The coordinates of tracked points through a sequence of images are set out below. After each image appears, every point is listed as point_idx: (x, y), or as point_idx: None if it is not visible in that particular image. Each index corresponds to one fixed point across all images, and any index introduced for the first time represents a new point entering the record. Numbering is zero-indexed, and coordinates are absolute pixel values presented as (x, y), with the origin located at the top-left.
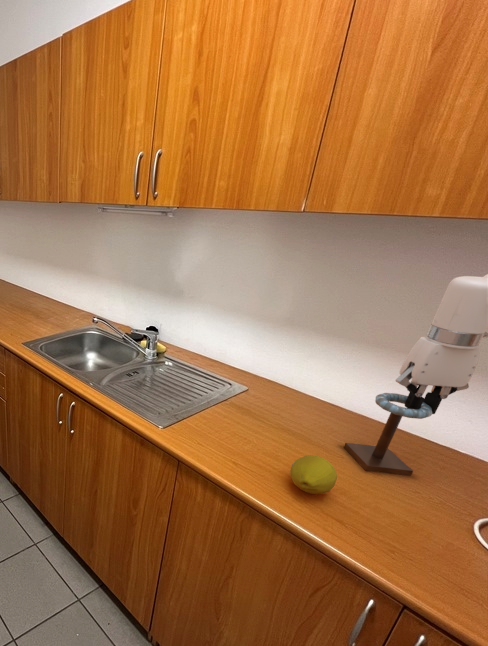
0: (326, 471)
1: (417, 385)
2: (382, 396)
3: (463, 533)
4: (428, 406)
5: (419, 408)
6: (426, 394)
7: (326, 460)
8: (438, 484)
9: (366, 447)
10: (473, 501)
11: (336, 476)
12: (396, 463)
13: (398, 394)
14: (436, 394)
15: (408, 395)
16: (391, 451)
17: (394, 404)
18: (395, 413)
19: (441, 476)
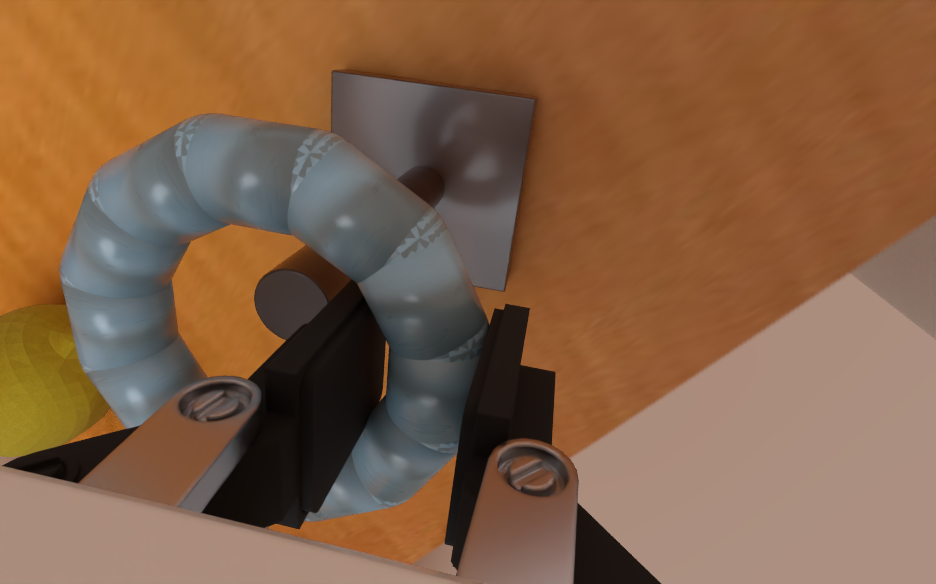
0: (7, 451)
1: (207, 498)
2: (91, 253)
3: (442, 509)
4: (419, 460)
5: (364, 423)
6: (470, 397)
7: (12, 408)
8: (579, 326)
9: (418, 111)
10: (620, 408)
11: (76, 428)
12: (469, 243)
13: (290, 204)
14: (457, 549)
15: (252, 376)
16: (527, 142)
17: (128, 408)
18: None
19: (647, 279)
